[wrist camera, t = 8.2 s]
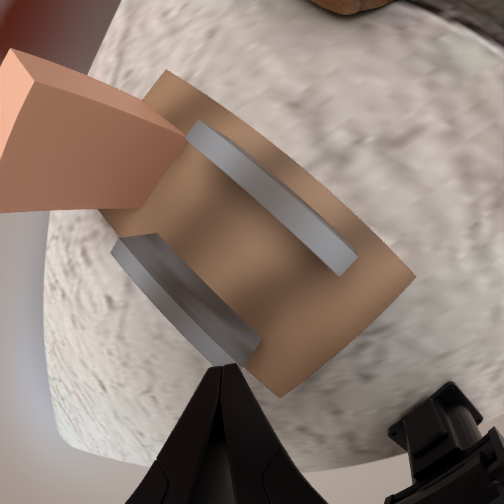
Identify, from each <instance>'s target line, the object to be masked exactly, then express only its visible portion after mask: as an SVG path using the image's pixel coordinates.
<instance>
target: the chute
mask: <svg viewBox="0 0 504 504" xmlns="http://www.w3.org/2000/svg"><path fill="white" fill-rule="evenodd" d="M142 101H143V102H144V103H146V104H147V105H148V106H150V107H151V108H152V109H153V110H155V111H156V112H157V113H159V114H160V115H161V116H162V117H164V118H165V119H166V120H167V121H169V122H170V123H171V124H172V125H174V126H175V127H176V128H177V129H179V130H180V131H181V132H182V133H183V134H185V135H186V137H185V139H186V140H187V141H188V142H187V143H186V144H185V146H184V147H183V148H182V150H181V151H180V153H179V154H178V155H177V157H176V158H175V159H174V161H173V162H172V164H171V165H170V166H169V168H168V169H167V171H166V172H165V174H164V175H163V176H162V178H161V179H160V181H159V182H158V184H157V185H156V187H155V188H154V190H153V191H152V193H151V194H150V196H149V197H148V199H147V200H146V202H145V204H144V205H143V207H142V208H130V209H98V210H99V212H100V213H101V214H102V215H103V217H104V218H105V219H106V220H107V222H108V223H109V224H110V225H111V227H112V228H113V229H114V230H115V232H116V233H117V234H118V235H119V236H120V238H118V240H117V242H116V243H115V245H114V247H113V249H112V251H111V252H110V253H111V254H112V256H113V257H114V258H115V259H116V261H117V262H118V263H119V264H120V266H121V267H122V268H123V269H124V270H125V272H126V273H127V274H128V275H129V276H130V278H131V279H132V280H133V281H134V282H135V283H136V285H137V286H138V287H139V288H140V289H141V290H142V291H143V293H144V294H145V295H146V296H147V297H148V298H149V299H150V301H151V302H152V303H153V304H154V305H155V306H156V307H157V308H158V309H159V310H160V312H161V313H162V314H163V315H164V316H165V317H166V318H167V319H168V320H169V321H170V322H171V323H172V324H173V325H174V326H175V327H176V329H177V330H178V331H179V332H180V333H181V334H182V335H183V336H184V337H185V338H186V339H187V340H188V341H189V342H190V343H191V344H192V345H193V346H194V347H195V348H196V349H197V350H198V351H199V352H200V353H201V354H202V355H203V356H204V357H205V358H206V359H207V360H209V361H210V362H211V363H212V364H213V365H214V366H224V365H225V364H231V363H237V365H238V367H239V368H240V370H241V369H242V368H243V367H245V368H246V369H247V370H248V371H249V372H250V373H251V374H253V375H254V376H255V377H256V378H257V379H258V380H259V381H260V382H262V383H263V384H264V385H265V386H266V387H267V388H268V389H270V390H271V391H272V392H273V393H274V394H275V395H277V396H278V397H279V398H281V397H283V396H284V395H285V394H287V393H288V392H289V391H291V390H292V389H293V388H295V387H296V386H297V385H299V384H300V383H301V382H303V381H304V380H305V379H306V378H308V377H309V376H310V375H312V374H313V373H314V372H315V371H317V370H318V369H319V368H320V367H321V366H323V365H324V364H325V363H326V362H328V361H329V360H330V359H331V358H332V357H334V356H335V355H336V354H337V353H338V352H339V351H341V350H342V349H343V348H344V347H345V346H346V345H347V344H349V343H350V342H351V341H352V340H353V339H354V338H355V337H356V336H358V335H359V334H360V333H361V332H362V331H363V330H364V329H365V328H366V327H367V326H368V325H369V324H371V323H372V322H373V321H374V320H375V319H376V318H377V317H378V316H379V315H380V314H381V313H382V312H383V311H384V310H385V309H386V308H387V307H388V306H389V305H390V304H391V303H392V302H393V301H394V300H395V299H396V298H397V297H398V296H399V295H400V294H401V293H402V292H403V291H404V290H405V289H406V288H407V287H408V285H409V284H410V283H411V282H412V281H413V280H414V279H415V278H416V276H415V275H414V274H413V272H412V271H411V270H410V269H409V268H408V267H407V266H406V265H405V264H404V263H403V262H402V261H401V260H400V259H399V258H398V257H397V255H396V254H395V253H394V252H393V251H392V250H391V249H390V248H389V247H388V246H387V245H386V244H385V243H384V242H383V241H382V240H381V239H380V238H379V237H378V236H377V235H376V234H375V233H374V232H373V231H372V230H371V229H370V228H369V227H368V226H367V225H366V224H365V223H364V222H362V221H361V220H360V219H359V218H358V217H357V216H356V215H355V214H354V213H353V212H352V211H351V210H350V209H349V208H348V207H347V206H345V205H344V204H343V203H342V202H341V201H340V200H339V199H338V198H337V197H336V196H334V195H333V194H332V193H331V192H330V191H329V190H328V189H327V188H325V187H324V186H323V185H322V184H321V183H320V182H319V181H317V180H316V179H315V178H314V177H313V176H312V175H310V174H309V173H308V172H307V171H306V170H305V169H303V168H302V167H301V166H300V165H299V164H297V163H296V162H295V161H294V160H293V159H291V158H290V157H289V156H288V155H286V154H285V153H284V152H283V151H281V150H280V149H279V148H278V147H276V146H275V145H274V144H273V143H271V142H270V141H269V140H267V139H266V138H265V137H264V136H262V135H261V134H260V133H258V132H257V131H256V130H254V129H253V128H252V127H250V126H249V125H248V124H246V123H245V122H244V121H242V120H241V119H240V118H238V117H237V116H235V115H234V114H233V113H231V112H230V111H228V110H227V109H226V108H224V107H223V106H221V105H220V104H218V103H217V102H216V101H214V100H213V99H211V98H210V97H208V96H207V95H205V94H204V93H202V92H201V91H199V90H198V89H196V88H195V87H193V86H192V85H190V84H189V83H187V82H186V81H184V80H182V79H181V78H179V77H178V76H176V75H174V74H173V73H171V72H170V71H168V70H165V71H164V73H163V74H162V75H161V76H160V78H159V79H158V80H157V81H156V83H155V84H154V85H153V87H152V88H151V89H150V91H149V92H148V93H147V95H146V96H145V97H144V99H143V100H142Z"/></svg>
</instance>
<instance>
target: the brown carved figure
mask: <svg viewBox="0 0 504 504" xmlns="http://www.w3.org/2000/svg"><path fill="white" fill-rule="evenodd" d="M310 1H312V2H314V3H316V4H317V5H319V6H320V7H323V8H325V9H328V10H330V11H333V12H335V13H338V14H341V15H349V14H354V13H357V12H358V11H360V10H362V11H364V10H368V9H372V8H378V7H380V6H383V5H385V4H387V3H389V2H391V1H393V0H310Z"/></svg>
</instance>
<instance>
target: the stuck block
mask: <svg viewBox="0 0 504 504" xmlns="http://www.w3.org/2000/svg"><path fill="white" fill-rule="evenodd" d="M185 137H186V135H185V134H183V133H182V132H181V131H180V130H179V129H177V128H176V127H175V126H174V125H172V124H171V123H170V122H169V121H167V120H166V119H165V118H164V117H162V116H161V115H160V114H159V113H157V112H156V111H155V110H153V109H152V108H151V107H150V106H148V105H147V104H146V103H144V102H143V101H142V100H140V99H138V98H136V97H134V96H132V95H130V94H128V93H125V92H123V91H121V90H119V89H117V88H114V87H112V86H110V85H108V84H105V83H103V82H101V81H98V80H96V79H94V78H91V77H89V76H86V75H84V74H81V73H79V72H76V71H74V70H71V69H69V68H66V67H63V66H61V65H58V64H56V63H53V62H50V61H47V60H44V59H42V58H39V57H36V56H33V55H30V54H27V53H23V52H21V51H17V50H15V49H10V50H9V52H8V53H7V55H6V57H5V59H4V61H3V63H2V65H1V67H0V213H10V212H27V211H47V210H75V209H130V208H142V207H143V205H144V204H145V202H146V200H147V199H148V197H149V196H150V194H151V193H152V191H153V190H154V188H155V187H156V185H157V184H158V182H159V181H160V179H161V178H162V176H163V175H164V174H165V172H166V171H167V169H168V168H169V166H170V165H171V164H172V162H173V161H174V159H175V158H176V157H177V155H178V154H179V153H180V151H181V150H182V148H183V147H184V146H185V144H186V143H187V142H188V141H187V140H186V139H185Z"/></svg>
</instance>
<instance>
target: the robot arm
mask: <svg viewBox="0 0 504 504" xmlns="http://www.w3.org/2000/svg"><path fill="white" fill-rule="evenodd" d="M451 387H452V388H451ZM449 388H451V389H450V390H448V389H449ZM477 419H478V420H477ZM482 420H483V417H482V415H481V414H480V412H479V411H478V410H477V409H476V408H475V406H474V405H473V404H472V403H471V402H470V400H469V399H468V398H467V397H466V396H465V394H464V393H463V392H462V391H461V390H460V389H459V387H458V386H457V385H456V384H455V383H454V382H449V383H447V384H446V385H445V386H444V387H443V388H441V389H440V390H439V391H438V392H437V393H435V394H434V395H433V396H432V397H431V398H429V399H428V400H427V401H426V402H425V403H423V404H422V405H421V406H419V407H418V408H417V409H416V410H414V411H413V412H412V413H410V414H409V415H408V416H406V417H405V418H403V419H402V420H401V421H399V422H398V423H396V424H395V425H394V426H392V427H391V428H389V430H388V436H389V437H390V438H391V439H392V440H393V441H395V442H396V443H397V444H398V445H400V446H401V447H402V448H404V449H405V450H406V451H407V452H408V455H409V462H410V468H411V475H412V484H413V485H412V486H410V487H408V488H406V489H405V490H403V491H401V492H399V493H397V494H395V495H394V494H393V495H390V496H389V497H387V498H386V499H385V502H384V504H504V438H503V437H502V435H501V434H500V433H499V431H498V430H497V429H496V427H495V426H494V427H493V428H491V429H490V430H489V431H488V433H487V434H486V435H485V436H484V437H482V435H481V433H480V431H479V429H478V427H477V426H478V425H479V424H480V423H481V422H482ZM395 431H396V432H395ZM392 432H394V433H392ZM156 459H157V460H155V461H154V462H153V464H152V466H151V467H150V469H149V471H148V472H147V474H146V475H145V477H144V479H143V480H142V482H141V483H140V484H139V486H138V487H137V489H136V490H135V491H134V493H133V494H132V495H131V497H130V498H129V499H128V500H127V501H126V503H125V504H328V503H327V502H326V501H325V500H324V499H323V497H322V496H321V495H320V494H319V493H318V492H317V491H316V490H315V489H314V488H313V487H312V486H311V485H310V483H309V482H308V481H307V480H306V479H305V478H304V476H303V475H302V474H301V473H300V471H299V470H298V468H297V467H296V465H295V464H294V463H293V461H292V460H291V458H290V456H289V455H288V453H287V452H286V450H285V448H284V447H283V445H282V444H281V442H280V440H279V438H278V437H277V435H276V433H275V432H274V430H273V428H272V426H271V425H270V423H269V421H268V420H267V418H266V416H265V414H264V412H263V411H262V409H261V407H260V405H259V404H258V402H257V400H256V398H255V396H254V395H253V393H252V391H251V389H250V387H249V385H248V383H247V382H246V380H245V378H244V376H243V374H242V372H241V370H240V368H239V367H238V365H237V363H231V364H225V365H224V366H215V367H210V368H208V370H207V371H206V373H205V375H204V377H203V378H202V380H201V382H200V384H199V385H198V387H197V389H196V391H195V392H194V394H193V396H192V398H191V399H190V401H189V403H188V405H187V406H186V408H185V410H184V412H183V413H182V415H181V417H180V418H179V420H178V422H177V424H176V425H175V427H174V429H173V430H172V432H171V434H170V436H169V437H168V439H167V441H166V442H165V444H164V446H163V447H162V449H161V451H160V453H159V454H158V456H157V458H156Z"/></svg>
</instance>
